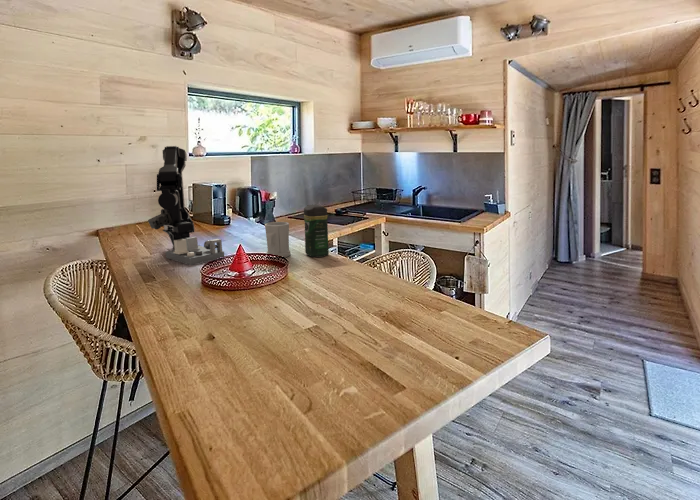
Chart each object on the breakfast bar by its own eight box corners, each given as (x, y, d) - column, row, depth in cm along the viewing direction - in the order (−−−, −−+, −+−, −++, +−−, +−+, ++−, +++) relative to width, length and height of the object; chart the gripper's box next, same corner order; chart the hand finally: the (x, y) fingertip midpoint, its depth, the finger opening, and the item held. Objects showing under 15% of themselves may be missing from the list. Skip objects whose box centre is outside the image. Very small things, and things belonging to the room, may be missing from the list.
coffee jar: (331, 256, 170) (330, 205, 166) (311, 258, 167) (308, 207, 163) (322, 251, 179) (321, 202, 175) (303, 253, 176) (300, 204, 172)
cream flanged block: (173, 253, 169) (172, 240, 168) (183, 251, 172) (182, 238, 171) (179, 254, 166) (177, 241, 165) (188, 252, 169) (187, 239, 168)
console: (165, 257, 174) (163, 239, 172) (198, 251, 183) (197, 233, 182) (190, 265, 162) (188, 245, 160) (224, 257, 172) (223, 239, 170)
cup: (293, 258, 169) (291, 225, 166) (268, 260, 166) (266, 227, 164) (288, 252, 179) (287, 221, 176) (264, 254, 176) (262, 222, 173)
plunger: (204, 249, 172) (203, 241, 172) (211, 248, 175) (210, 239, 174) (212, 251, 169) (211, 243, 168) (220, 250, 171) (219, 241, 170)
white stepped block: (184, 250, 173) (183, 237, 172) (194, 248, 175) (193, 236, 174) (190, 252, 170) (189, 239, 169) (199, 250, 173) (198, 237, 172)
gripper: (138, 206, 168) (143, 249, 171) (162, 210, 155) (167, 256, 159) (167, 203, 176) (172, 244, 179) (193, 206, 163) (197, 250, 167)
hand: (176, 248), depth 171 cm, fingers closed
